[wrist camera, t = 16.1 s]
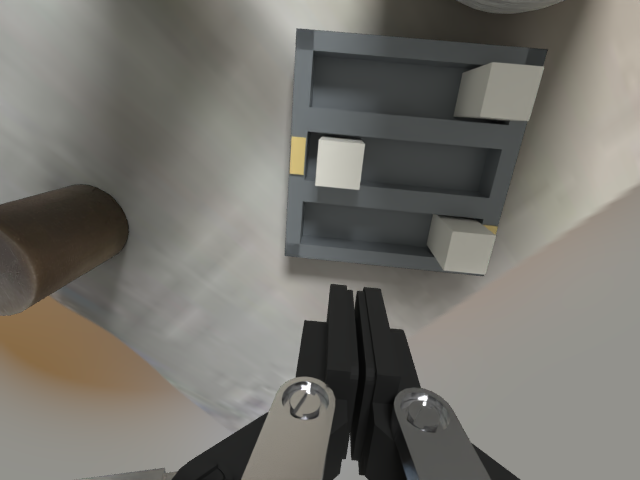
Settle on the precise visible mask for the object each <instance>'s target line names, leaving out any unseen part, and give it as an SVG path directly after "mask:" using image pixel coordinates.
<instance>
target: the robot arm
mask: <svg viewBox="0 0 640 480" xmlns="http://www.w3.org/2000/svg"><path fill="white" fill-rule="evenodd" d="M349 435H350V440H351V458H352V460H357V461H358V465H359V475H365V477H366V478H367V479H368V480H520V479H519V478H517V477H516V476H515V475H513V474H512V473H511V472H509V471H508V470H506V469H505V468H504V467H503V466H501V465H500V464H499V463H497V462H496V461H495V460H493V459H492V458H491V457H489V456H488V455H487V454H485V453H484V452H483V451H481V450H480V449H479V448H477V447H476V446H475V445H473V444H472V443H471V442H470V440H469V438H468V437H467V435H466V433H465V431H464V429H463V428H462V426H461V424H460V422H459V420H458V418H457V416H456V415H455V413H454V411H453V410H452V408H451V407H450V405H449V404H448V403H447V402H446V401H445V400H444V399H443V398H442V397H440V396H439V395H437V394H435V393H434V392H432V391H429V390H426V389H423V388H421V387H420V383H419V380H418V377H417V373H416V370H415V366H414V363H413V360H412V356H411V353H410V349H409V346H408V342H407V339H406V336H405V333H404V331H403V330H401V329H390V327H389V323H388V318H387V314H386V310H385V306H384V301H383V297H382V293H381V289H378V288H367V287H364V288H363V291H357V295H356V302H355V309H354V301H353V290H347V286H346V285H335V284H331V285H330V294H329V304H328V314H327V322H317V321H307V320H305V321H304V326H303V333H302V339H301V346H300V352H299V359H298V365H297V372H296V378H293V379H291V380H289V381H287V382H285V383H284V384H283V385H282V386H281V387H280V388H279V390H278V391H277V393H276V396H275V398H274V401H273V403H272V405H271V408H270V410H269V412H267V413H266V414H264V415H262V416H261V417H259V418H258V419H256V420H254V421H253V422H251V423H250V424H248V425H246V426H245V427H243V428H242V429H240V430H238V431H237V432H235V433H234V434H232V435H230V436H229V437H227V438H226V439H224V440H222V441H221V442H219V443H218V444H216V445H215V446H213V447H212V448H210V449H208V450H207V451H205V452H203V453H202V454H200V455H199V456H197V457H195V458H194V459H192V460H191V461H189V462H188V463H187V464H186V465H184V466H183V467H182V468H180V469H179V471H177V472H170V473H166V472H165V468H160V469H153V470H145V471H138V472H130V473H123V474H114V475H107V476H99V477H91V478H85V479H76V480H333V479H334V478H335V477H336V476H337V475H338V474H340V468H341V462H342V459H346V454H347V448H348V441H349Z"/></svg>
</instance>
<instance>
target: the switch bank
mask: <svg viewBox="0 0 640 480" xmlns="http://www.w3.org/2000/svg"><path fill="white" fill-rule="evenodd" d="M547 51H548V49H536V48H524V47H512V46H500V45H488V44H477V43H465V42H453V41H441V40H429V39H417V38H405V37H393V36H381V35H369V34H357V33H345V32H333V31H321V30H309V29H297V31H296V50H295V69H294V88H293V107H292V126H291V145H290V164H289V183H288V202H287V221H286V240H285V256H291V257H301V258H311V259H320V260H330V261H340V262H350V263H359V264H369V265H379V266H389V267H398V268H408V269H418V270H428V271H437V272H447V273H457V274H467V275H476V276H484V275H483V274H474V273H464V272H454V271H444V270H443V269H442V267H441V266H440V264H439V263H438V261H437V260H436V258H435V257H434V255H433V254H432V252H431V251H430V249H429V247H428V246H427V240H428V235H429V231H430V226H431V221H432V216H433V214H437V215H447V216H458V217H468V218H474V219H476V220H477V221H478V222H479V223H481V224H482V225H483V226H485V227H486V228H487V229H488V230H490V231H491V232H492V233H494V234H495V235H496V232H497V228H498V224H499V220H500V217H501V213H502V210H503V206H504V203H505V199H506V195H507V192H508V188H509V185H510V181H511V178H512V174H513V171H514V167H515V164H516V160H517V157H518V153H519V150H520V146H521V142H522V139H523V135H524V132H525V128H526V125H527V121H510V120H487V119H476V118H465V117H454V111H455V106H456V102H457V97H458V92H459V87H460V83H461V78H462V73H464V72H466V71H469V70H472V69H475V68H478V67H480V66H483V65H486V64H489V63H492V62H497V63H509V64H521V65H532V66H543V65H544V61H545V58H546V54H547ZM323 135H324V136H334V137H345V138H356V139H361V140H362V141H363V142H364V143H365V149H364V157H363V164H362V172H361V180H360V188H359V190H354V189H344V188H334V187H323V186H315V181H316V168H317V156H318V144H319V139H320V138H321V137H322V136H323Z"/></svg>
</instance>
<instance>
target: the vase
mask: <svg viewBox="0 0 640 480" xmlns="http://www.w3.org/2000/svg"><path fill="white" fill-rule="evenodd" d="M456 1H458V2H460V3H462V4H465V5H467V6H469V7H471V8H473V9H477V10H481V11H485V12H490V13H503V14H515V13H521V12H527V11H533V10H538V9H542V8H545V7H548V6H551V5H554V4H556V3H559V2H562V1H565V0H456Z"/></svg>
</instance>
